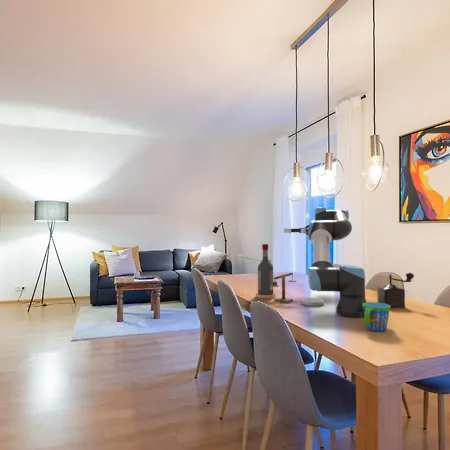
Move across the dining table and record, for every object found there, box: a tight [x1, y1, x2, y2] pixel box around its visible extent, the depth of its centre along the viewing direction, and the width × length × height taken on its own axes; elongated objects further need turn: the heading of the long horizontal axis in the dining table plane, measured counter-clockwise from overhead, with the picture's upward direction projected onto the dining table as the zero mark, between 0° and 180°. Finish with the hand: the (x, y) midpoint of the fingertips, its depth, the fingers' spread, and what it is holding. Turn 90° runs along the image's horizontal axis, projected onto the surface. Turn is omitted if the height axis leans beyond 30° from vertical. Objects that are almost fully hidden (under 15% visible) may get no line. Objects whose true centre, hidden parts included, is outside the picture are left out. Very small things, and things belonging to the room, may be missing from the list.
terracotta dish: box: [255, 292, 277, 300], centre depth 217 cm, size 12×12×2 cm
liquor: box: [257, 243, 274, 295], centre depth 217 cm, size 9×9×30 cm
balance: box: [271, 272, 297, 304], centre depth 204 cm, size 15×6×17 cm, turn 57°
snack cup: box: [362, 302, 391, 332], centre depth 147 cm, size 16×10×10 cm
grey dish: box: [300, 297, 325, 308], centre depth 196 cm, size 12×12×2 cm
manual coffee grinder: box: [376, 272, 415, 309], centre depth 190 cm, size 16×11×18 cm
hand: (292, 230), depth 227 cm, fingers open, 13 cm apart
